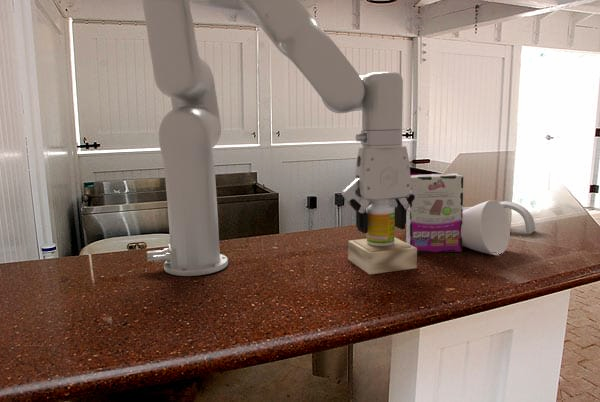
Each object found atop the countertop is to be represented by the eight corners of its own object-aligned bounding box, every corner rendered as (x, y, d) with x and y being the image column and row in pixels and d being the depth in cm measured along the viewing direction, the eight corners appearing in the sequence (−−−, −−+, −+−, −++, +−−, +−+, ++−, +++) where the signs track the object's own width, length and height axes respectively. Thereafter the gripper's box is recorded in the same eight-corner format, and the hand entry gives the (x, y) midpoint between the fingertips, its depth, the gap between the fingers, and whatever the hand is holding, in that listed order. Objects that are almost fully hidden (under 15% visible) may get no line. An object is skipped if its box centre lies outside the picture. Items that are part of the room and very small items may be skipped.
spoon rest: (430, 226, 127) (431, 199, 126) (447, 218, 136) (448, 193, 135) (526, 239, 113) (528, 208, 111) (539, 229, 122) (540, 201, 120)
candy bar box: (455, 246, 107) (457, 172, 104) (462, 252, 102) (465, 175, 99) (404, 247, 107) (405, 173, 105) (409, 253, 102) (410, 176, 100)
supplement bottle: (394, 247, 92) (394, 197, 90) (365, 246, 93) (365, 197, 92) (394, 240, 97) (395, 192, 96) (367, 239, 98) (367, 192, 97)
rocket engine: (417, 197, 114) (487, 189, 100) (443, 223, 119) (514, 218, 105) (403, 240, 109) (475, 237, 95) (431, 265, 115) (503, 265, 101)
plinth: (369, 274, 90) (369, 252, 89) (348, 259, 99) (347, 239, 99) (416, 268, 93) (417, 247, 92) (391, 254, 102) (391, 234, 102)
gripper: (347, 142, 86) (348, 238, 89) (433, 138, 91) (430, 229, 94) (332, 140, 93) (333, 229, 96) (412, 136, 98) (410, 222, 101)
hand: (381, 229), depth 95 cm, fingers open, 7 cm apart
